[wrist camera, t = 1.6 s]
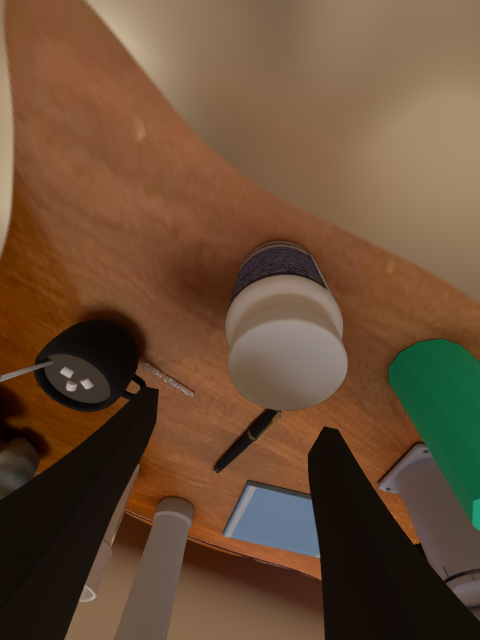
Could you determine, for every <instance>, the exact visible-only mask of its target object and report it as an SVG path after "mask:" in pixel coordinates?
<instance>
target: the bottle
mask: <svg viewBox="0 0 480 640" xmlns="http://www.w3.org/2000/svg"><path fill="white" fill-rule="evenodd" d="M193 512H194V509H193V506H192V505H191V504H190V503H189V502H188V501H186V500H183V499H181V498H176V497H167V498H164V499H162V500H161V501H160V503H159V504H158V506H157V508H156V511H155V513H154V523H153V526H152V529H151V532H150V535H149V538H148V541H147V544H146V547H145V550H144V552H143V555H142V559H141V561H140V564H139V567H138V570H137V573H136V576H135V579H134V582H133V585H132V588H131V591H130V594H129V596H128V599H127V602H126V606H125V608H124V611H123V614H122V617H121V620H120V623H119V626H118V629H117V631H116V634H115V637H114V640H166V639H167V633H168V629H169V624H170V619H171V614H172V609H173V604H174V599H175V594H176V589H177V584H178V579H179V575H180V569H181V565H182V560H183V555H184V549H185V545H186V540H187V535H188V530H189V528H190V527H191V526H192V521H193Z"/></svg>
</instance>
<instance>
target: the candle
mask: <svg viewBox="0 0 480 640" xmlns="http://www.w3.org/2000/svg"><path fill="white" fill-rule="evenodd" d="M389 383H390V384H391V386H392V388H393V390H394V391H395V393H396V395H397V396H398V398H399V400H400V402H401V403H402V405H403V407H404V408H405V410H406V412H407V414H408V415H409V417H410V419H411V420H412V422H413V424H414V426H415V427H416V429H417V431H418V432H419V434H420V436H421V437H422V439H423V441H424V443H425V444H426V446H427V448H428V449H429V451H430V453H431V455H432V456H433V458H434V460H435V461H436V463H437V465H438V467H439V468H440V470H441V472H442V473H443V475H444V477H445V479H446V480H447V482H448V484H449V485H450V487H451V489H452V491H453V492H454V494H455V496H456V497H457V499H458V501H459V503H460V504H461V506H462V508H463V509H464V511H465V513H466V515H467V516H468V518H469V520H470V521H471V523H472V525H473V526H474V527H476V528H477V529H478V530H479V531H480V362H479V361H478V360H477V359H476V358H475V357H473V356H472V355H471V354H470V353H469V352H468V351H467V350H466V349H464V348H463V347H462V346H461V345H460V344H457V343H453V342H450V341H447V340H444V339H437V340H429V341H422V342H418V343H416V344H414V345H413V346H411V347H409V348H407V349H405V350H403V351H402V352H400V353H399V354H398V355H397V357H396V358H395V359H394V361H393V362H392V363H391V365H390V366H389Z"/></svg>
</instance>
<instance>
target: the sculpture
mask: <svg viewBox="0 0 480 640" xmlns="http://www.w3.org/2000/svg"><path fill="white" fill-rule="evenodd" d="M39 462H40V458H39V455H38V454H37V452H36V451H35V449H34V448H33V446H32V445H31V444H30V442H29V440H27V439H25V438H22V437H17V438H14V439H12V440H11V441H0V499H2V498H3V497H5V496H7V495H8V494H10V493H12V492H13V491H15V490H16V489H18V488H19V487H21V486H22V485H24V484H26V483H27V482H29V481H30V480H31V478H32V477H33V475H34V474H35V472H36V470H37V468H38V465H39Z"/></svg>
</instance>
